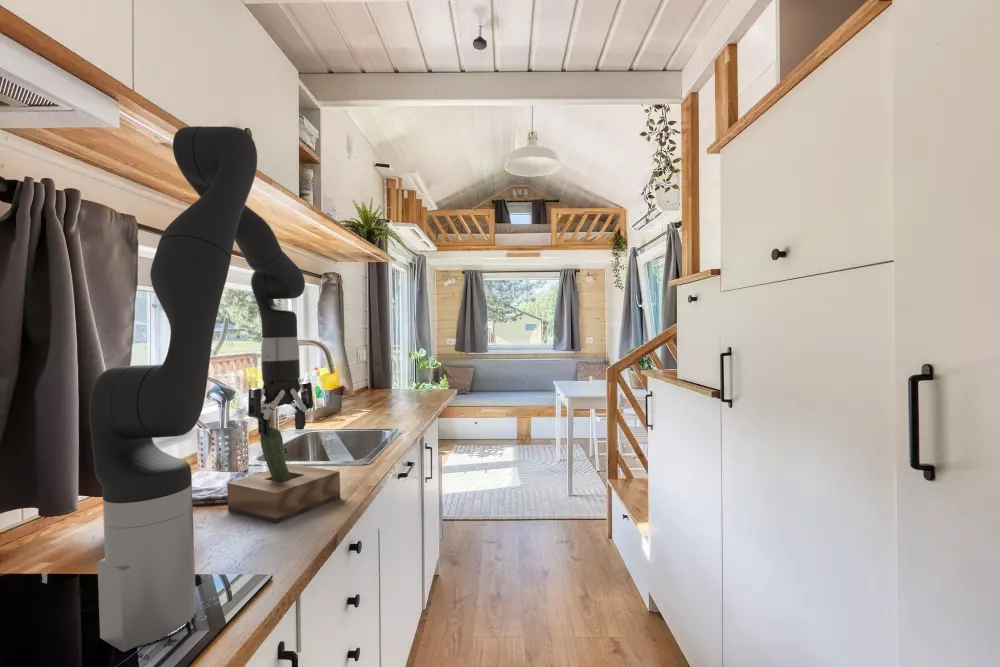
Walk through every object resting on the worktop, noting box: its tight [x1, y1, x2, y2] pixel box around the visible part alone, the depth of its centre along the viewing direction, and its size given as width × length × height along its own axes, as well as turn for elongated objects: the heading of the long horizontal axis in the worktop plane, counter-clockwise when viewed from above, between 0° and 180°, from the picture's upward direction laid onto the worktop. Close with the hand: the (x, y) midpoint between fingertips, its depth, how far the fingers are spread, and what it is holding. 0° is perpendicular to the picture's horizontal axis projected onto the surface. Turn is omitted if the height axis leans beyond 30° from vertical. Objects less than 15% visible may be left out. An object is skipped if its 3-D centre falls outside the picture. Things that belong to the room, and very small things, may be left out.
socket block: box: [226, 463, 341, 525], centre depth 106 cm, size 16×16×6 cm
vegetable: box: [259, 414, 291, 483], centre depth 106 cm, size 4×4×20 cm
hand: (283, 432), depth 106 cm, fingers open, 8 cm apart
